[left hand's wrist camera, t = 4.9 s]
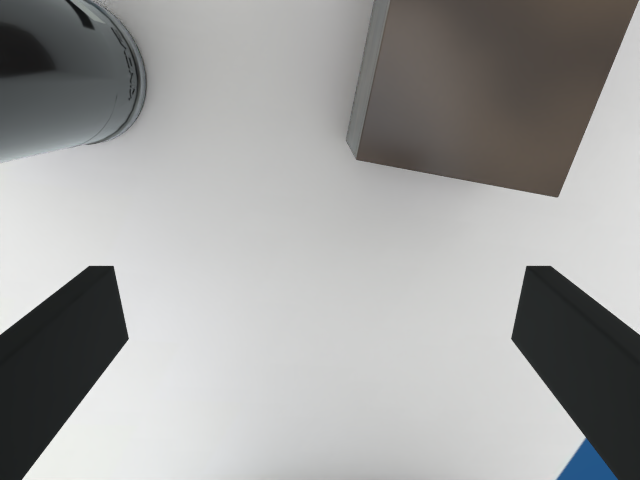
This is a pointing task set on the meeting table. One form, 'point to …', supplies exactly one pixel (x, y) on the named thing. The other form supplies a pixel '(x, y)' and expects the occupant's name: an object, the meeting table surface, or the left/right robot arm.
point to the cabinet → (484, 86)
